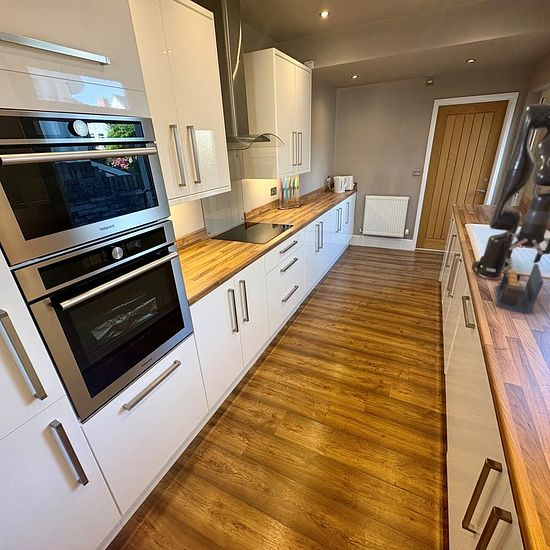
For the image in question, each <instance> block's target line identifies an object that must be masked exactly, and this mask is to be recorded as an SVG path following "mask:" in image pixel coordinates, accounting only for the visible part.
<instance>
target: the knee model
mask: <svg viewBox="0 0 550 550" xmlns="http://www.w3.org/2000/svg"><path fill="white" fill-rule="evenodd" d="M512 259H513V258H512V256H511V257H510V259H508V257H507V259H506V262H505V265H504V268H503V269H505V270H506V272H509V271H510V270H513V269H514V268H515V266H514V264H513V263H512ZM512 264H513V265H512Z"/></svg>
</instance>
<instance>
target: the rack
mask: <svg viewBox="0 0 550 550" xmlns="http://www.w3.org/2000/svg"><path fill="white" fill-rule="evenodd" d="M516 274H517V273H516ZM520 279H521V274H517V281H518V282H519V281H520ZM507 284H508V271H504V272H503V275H502V278H501V280H500V284H499V285H496V292H495V293H496V295H495V296H496V298H495V299H496V300H495V301H496V303H495V304H496V305H495V306H496V307H498V308H501V309H506V310H510V311H515V312H518V313H524V314H528V315H531V313H532V311H533V308H534V305H535V304H536V301H537V299H538V297H539V294H540V291H541V289H542V286H543V284H544V280H543V277H542V273H541V270H540V265H539V264H537V263H534V265H533V267H532V269H531V272H530V274H529V277H528V279H527V282H526V284H525V287H524V288H523V289H524V292H523V294H522V297H521V299H520V298H515V297H510V296H506V295H505V289H506V286H507Z"/></svg>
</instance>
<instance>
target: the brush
mask: <svg viewBox="0 0 550 550" xmlns="http://www.w3.org/2000/svg"><path fill="white" fill-rule="evenodd" d="M507 277H508V284H507V286H506V289H505V295H506V296H510V297H515V298H520V299H521V297H522V294H523V292H524V289H525V288H524V287H523V286H520V285H519V281H517V271H516V270H513V269H512V270H510V271H508V273H507Z"/></svg>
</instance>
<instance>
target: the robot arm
mask: <svg viewBox="0 0 550 550" xmlns="http://www.w3.org/2000/svg"><path fill="white" fill-rule="evenodd" d="M541 130H544V131H545V134H543V136H542V137H541V139H540V140H539V141H538V143H537V144H536V146H535V149H534V154H535V155H533V152H532V150H531V147H530V141H529V139H530V132H531V131H541ZM534 156H535V157H534ZM534 170H535V171H534ZM532 177H533V178H532ZM531 180H532V182H533V183H534V185H536V186H538V187H550V103H534V104H533V103H532V104H529V105H526V107H525V108H524V109H523V111H522V113H521V116H520V119H519V123H518V128H517V133H516V136H515V142H514V145H513V149H512V152H511V155H510V158H509V161H508V164H507V167H506V170H505V174H504V178H503V181H502V185H501V188H500V192H499V196H498V198H497V201H496V204H495V206H494V208H493V212H492V214H491V216H490V217H491V218H490V220H489V228H490V229H491V230H498V231H505V232H502V233H499V234H495V235H490V236H489V238H488V239H487V243H486V246H485V250H484V253H483V255H482V256H481V257H480V259H479V260H477V261H474V262H473V264H472V265H471V270H472V272H473V273H475V275H478V276H479V277H480V278H483V279H486V280H492V281H497V280H500V279H501V277H502V274H503V271H504V269H505V268H504V265H505V262H506V259H507V257H508V259H510V257H512V254H513V250H514V249H516V248H518V247H519V246H522V247H527V248H535V250H536V251H537V252H536V255H535V257H534V260H533V263H534V264H537V263H539V262H540V261H541V259H542V256H543V255H550V237H545V234H546V232H547V229H548V228H549V224H550V188H549V189H548V190H545V191H542V192H541V191H540V192H537V193H535V194H534V195H532V198H531V201H530V203H529V206H528V209H527V211H526V213H525V215H524V217H523V214H522V211H520V210H513V209H504V208H505V207H506V205H507V204H508V202H509V201H510V200H511V199H512V198H513V197H514V196H515V195H516V194H518V193H519V192H520V191H521V190H522V189H524V188H525V187H526V186H527V185H528V184H529V182H530V181H531ZM522 218H523V221H522ZM521 221H522V223H521ZM520 224H521V227H520ZM519 227H520V230H519V232H518V229H519ZM517 232H518V233H517ZM515 238H516V241H515V242H513V241H514V239H515ZM543 242H545V244H546V246H545V249H542V247H541V245H540V244H541V243H543Z"/></svg>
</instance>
